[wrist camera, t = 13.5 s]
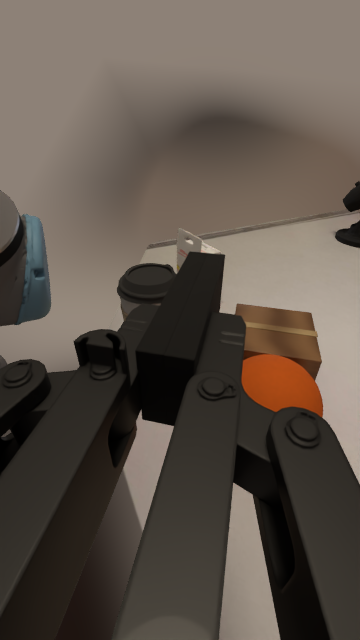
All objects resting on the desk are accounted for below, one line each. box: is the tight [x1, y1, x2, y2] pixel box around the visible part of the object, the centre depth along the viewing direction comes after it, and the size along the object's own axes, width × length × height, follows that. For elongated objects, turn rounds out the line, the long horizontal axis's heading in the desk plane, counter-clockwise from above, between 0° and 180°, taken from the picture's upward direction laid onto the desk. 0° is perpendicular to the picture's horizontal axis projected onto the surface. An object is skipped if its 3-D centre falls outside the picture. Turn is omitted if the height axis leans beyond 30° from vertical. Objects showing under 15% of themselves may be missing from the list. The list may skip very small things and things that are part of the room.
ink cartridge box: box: [177, 228, 221, 273], centre depth 59 cm, size 9×5×15 cm, turn 31°
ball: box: [242, 354, 323, 417], centre depth 34 cm, size 11×11×11 cm
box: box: [235, 304, 322, 381], centre depth 43 cm, size 11×11×8 cm
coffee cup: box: [117, 263, 177, 321], centre depth 44 cm, size 9×9×15 cm
